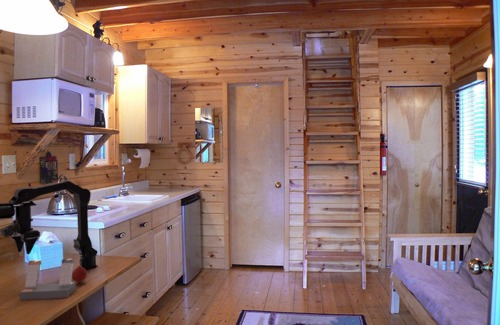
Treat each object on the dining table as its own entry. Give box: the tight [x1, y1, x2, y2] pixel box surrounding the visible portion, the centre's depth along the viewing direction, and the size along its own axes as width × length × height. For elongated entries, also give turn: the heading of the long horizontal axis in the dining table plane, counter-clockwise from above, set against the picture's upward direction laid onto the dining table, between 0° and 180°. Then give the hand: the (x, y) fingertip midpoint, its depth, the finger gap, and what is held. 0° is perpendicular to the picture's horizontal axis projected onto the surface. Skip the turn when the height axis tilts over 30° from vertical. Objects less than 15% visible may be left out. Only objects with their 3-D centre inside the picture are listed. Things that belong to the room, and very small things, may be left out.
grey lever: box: [58, 258, 75, 285], centre depth 142 cm, size 2×4×10 cm, turn 94°
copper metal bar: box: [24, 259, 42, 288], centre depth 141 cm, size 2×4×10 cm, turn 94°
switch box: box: [18, 281, 77, 301], centre depth 140 cm, size 8×18×3 cm, turn 95°
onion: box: [72, 264, 88, 284], centre depth 152 cm, size 6×6×8 cm
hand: (23, 253), depth 151 cm, fingers open, 9 cm apart
